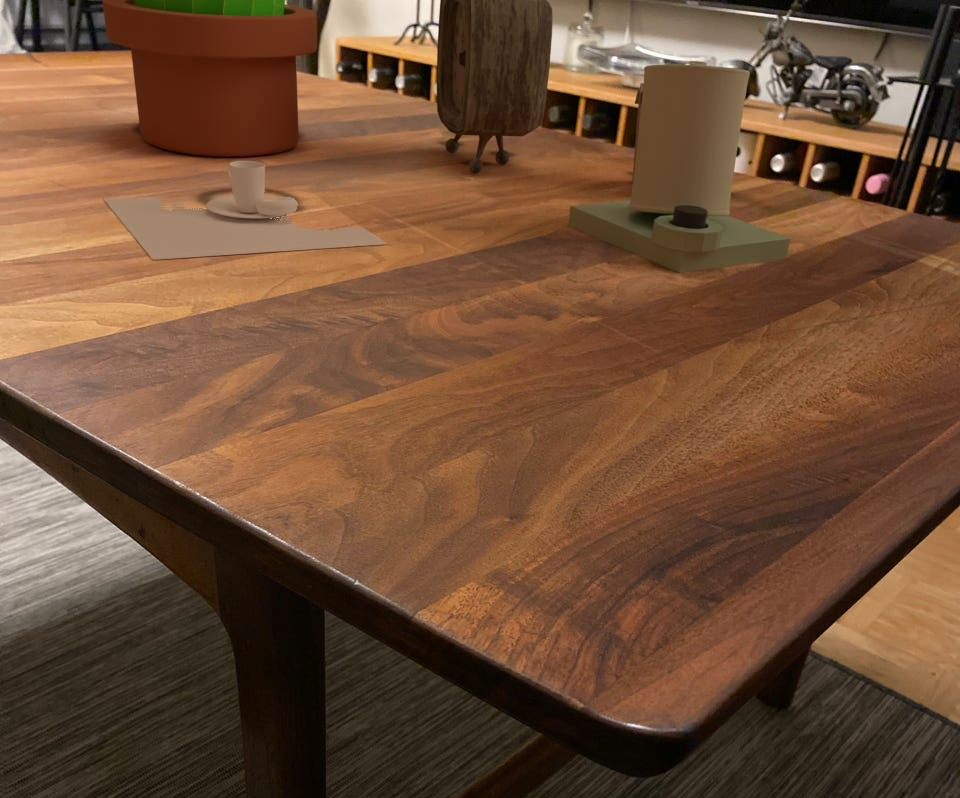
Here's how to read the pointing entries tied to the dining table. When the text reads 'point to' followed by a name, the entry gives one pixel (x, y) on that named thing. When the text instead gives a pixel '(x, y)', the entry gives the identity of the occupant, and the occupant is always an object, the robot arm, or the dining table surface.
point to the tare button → (689, 217)
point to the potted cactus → (215, 71)
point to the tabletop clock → (492, 70)
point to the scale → (679, 237)
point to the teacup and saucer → (229, 222)
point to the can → (688, 137)
